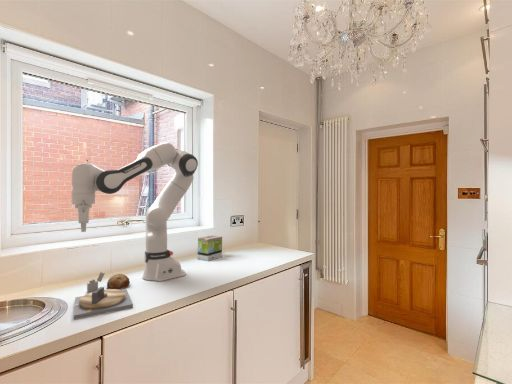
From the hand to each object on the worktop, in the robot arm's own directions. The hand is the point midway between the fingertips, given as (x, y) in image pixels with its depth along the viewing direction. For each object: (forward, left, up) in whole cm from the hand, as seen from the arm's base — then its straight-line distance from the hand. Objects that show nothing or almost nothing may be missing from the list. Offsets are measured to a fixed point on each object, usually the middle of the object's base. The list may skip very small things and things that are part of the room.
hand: (83, 231), depth 124 cm
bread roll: (-15, -7, -30) cm, 34 cm away
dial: (-7, +13, -27) cm, 31 cm away
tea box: (-75, -38, -29) cm, 89 cm away
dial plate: (-7, +13, -29) cm, 33 cm away
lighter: (-5, -7, -29) cm, 31 cm away
